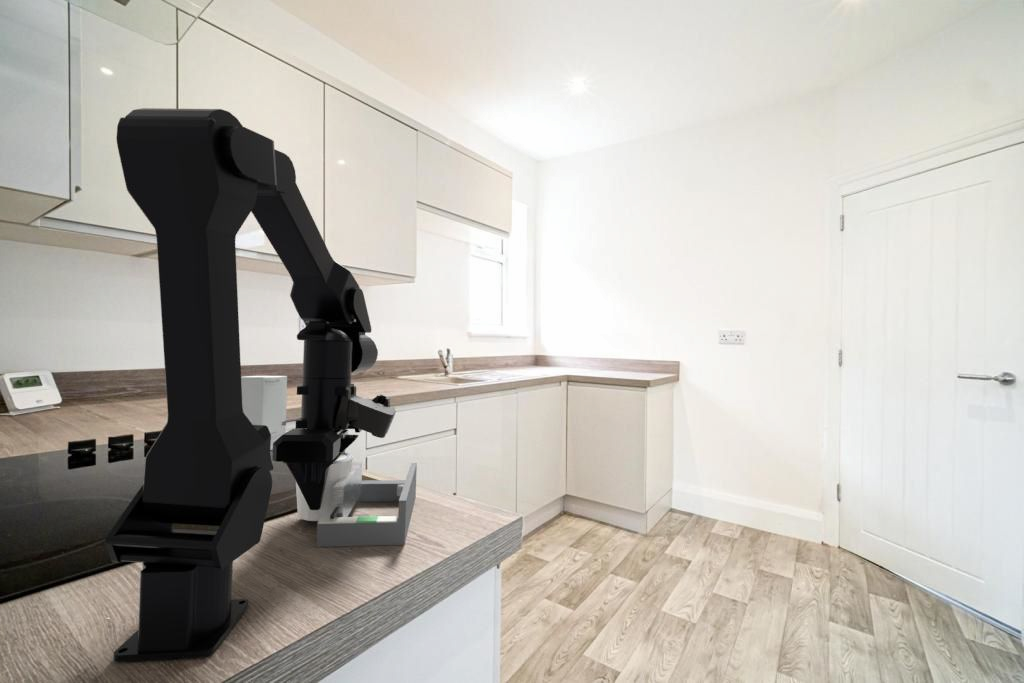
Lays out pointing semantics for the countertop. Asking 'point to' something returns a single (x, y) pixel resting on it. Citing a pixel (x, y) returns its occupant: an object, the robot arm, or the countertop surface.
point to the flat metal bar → (347, 492)
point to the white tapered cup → (334, 474)
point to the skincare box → (266, 402)
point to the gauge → (373, 527)
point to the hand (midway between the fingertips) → (322, 500)
